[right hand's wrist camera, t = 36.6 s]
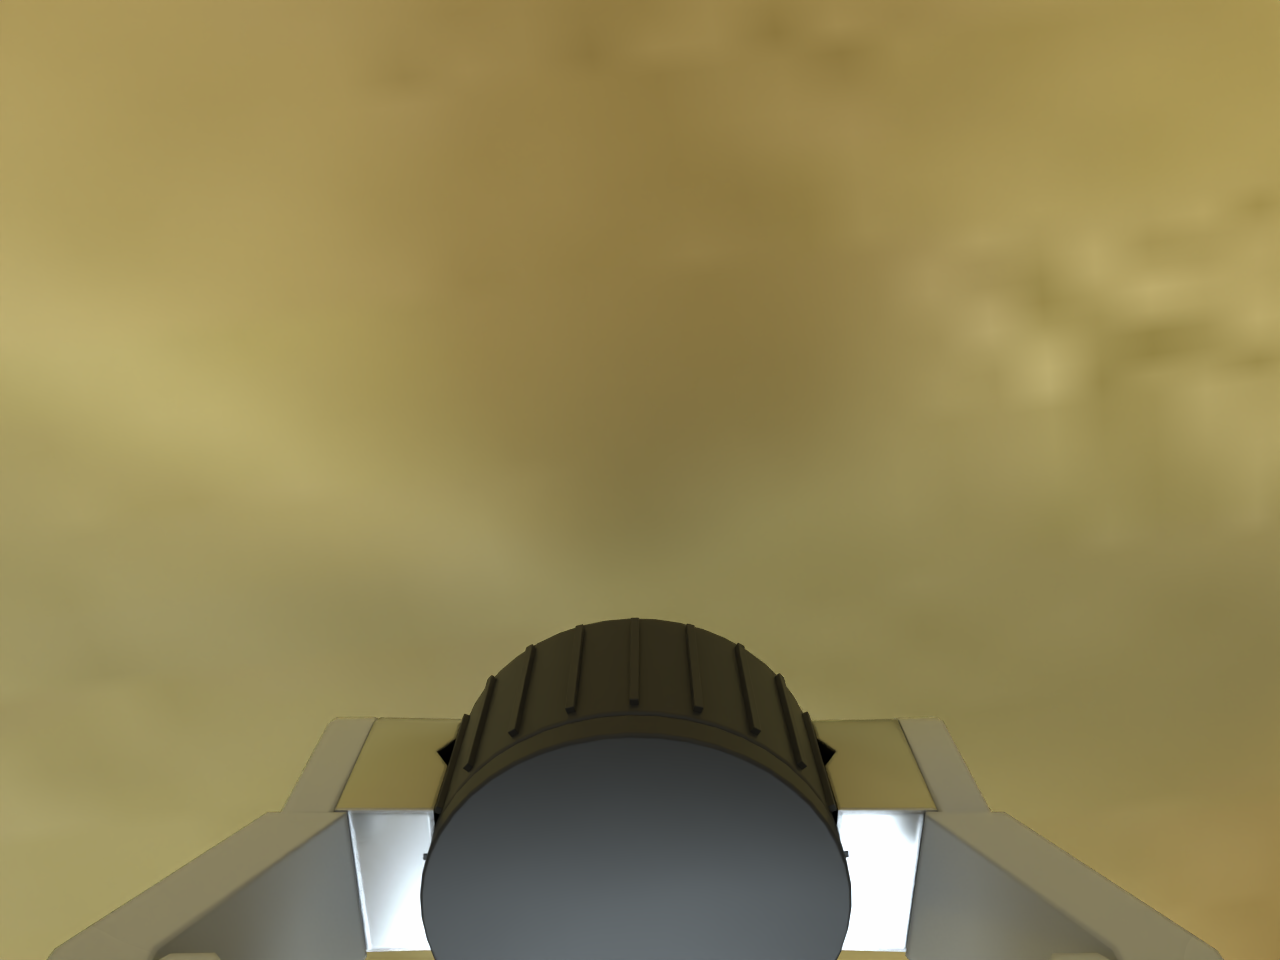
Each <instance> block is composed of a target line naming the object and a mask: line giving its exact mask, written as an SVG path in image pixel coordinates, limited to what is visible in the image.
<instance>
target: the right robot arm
mask: <svg viewBox="0 0 1280 960" xmlns="http://www.w3.org/2000/svg"><path fill="white" fill-rule="evenodd" d="M461 721H462V719H431V718H384V717H381V718H379V719H378V718H376V717H337V718H335V719H334V720H332V721H330V722H329V723H328V724H327V726H326V728H325V730H324V732H323V734H322V736H321V738H320V739H319V741H318V743H317V745H316V747H315V749H314V751H313V752H312V754H311V756H310V758H309V760H308V762H307V764H306V766H305V767H304V769H303V771H302V773H301V775H300V777H299V779H298V780H297V782H296V784H295V786H294V788H293V790H292V792H291V794H290V795H289V797H288V799H287V801H286V803H285V805H284V807H283V809H282V810H281V812H267V813H265V814H264V815H262V816H261V817H259V818H257V819H256V820H254V821H253V822H251V823H250V824H248V825H247V826H245V827H243V828H242V829H240V830H239V831H237V832H236V833H234V834H233V835H231V836H229V837H228V838H226V839H225V840H223V841H222V842H220V843H219V844H217V845H215V846H214V847H212V848H211V849H209V850H208V851H206V852H205V853H203V854H201V855H200V856H198V857H197V858H195V859H194V860H192V861H191V862H189V863H187V864H186V865H184V866H183V867H181V868H180V869H178V870H177V871H175V872H173V873H172V874H170V875H169V876H167V877H166V878H164V879H163V880H161V881H159V882H158V883H156V884H155V885H153V886H152V887H150V888H148V889H147V890H145V891H144V892H142V893H141V894H139V895H138V896H136V897H134V898H133V899H131V900H130V901H128V902H127V903H125V904H124V905H122V906H120V907H119V908H117V909H116V910H114V911H113V912H111V913H110V914H108V915H106V916H105V917H103V918H102V919H100V920H99V921H97V922H96V923H94V924H92V925H91V926H89V927H88V928H86V929H85V930H83V931H82V932H80V933H78V934H77V935H75V936H74V937H72V938H71V939H69V940H68V941H66V942H64V943H63V944H61V945H60V946H58V947H57V948H55V949H54V950H53V952H52V953H51V954H50V956H49V957H48V959H47V960H364V959H365V958H366V957H367V953H366V952H373V951H407V950H431V949H430V947H429V944H428V942H427V939H426V935H425V930H424V926H423V922H422V918H421V906H420V888H421V878H422V871H423V868H424V864H425V861H426V860H423V854H424V853H427V854H428V850H429V847H430V843H431V840H432V837H433V833H434V830H435V827H436V823H437V820H438V816H439V814H437V813H434V810H435V807H436V803H437V800H438V797H439V794H440V790H441V787H442V784H443V780H444V777H445V774H446V771H447V767H448V764H449V761H450V757H451V754H452V751H453V748H454V744H455V741H456V738H457V734H458V731H459V728H460V725H461ZM811 722H812V725H813V729H814V732H815V736H816V739H817V742H818V746H819V749H820V753H821V756H822V760H823V763H824V766H825V770H826V773H827V777H828V780H829V784H830V787H831V790H832V794H833V797H834V801H835V804H836V808H837V810H836V811H833V815H834V819H835V822H836V826H837V829H838V832H839V835H840V839H841V843H842V846H843V849H844V851H849V857H848V858H846V860H847V864H848V869H849V874H850V879H851V884H852V909H851V916H850V922H849V929H848V932H847V935H846V938H845V941H844V944H843V947H842V950H864V951H899V952H906V955H905V956H906V957H907V958H908V959H909V960H1224V959H1223V958H1222V956H1221V955H1220V954H1219V952H1218V951H1217V950H1216V949H1214V948H1213V947H1211V946H1210V945H1208V944H1207V943H1205V942H1204V941H1202V940H1200V939H1199V938H1197V937H1196V936H1194V935H1193V934H1191V933H1190V932H1188V931H1187V930H1185V929H1184V928H1182V927H1180V926H1179V925H1177V924H1176V923H1174V922H1173V921H1171V920H1170V919H1168V918H1167V917H1165V916H1164V915H1162V914H1160V913H1159V912H1157V911H1156V910H1154V909H1153V908H1151V907H1150V906H1148V905H1147V904H1145V903H1144V902H1142V901H1141V900H1139V899H1137V898H1136V897H1134V896H1133V895H1131V894H1130V893H1128V892H1127V891H1125V890H1124V889H1122V888H1121V887H1119V886H1117V885H1116V884H1114V883H1113V882H1111V881H1110V880H1108V879H1107V878H1105V877H1104V876H1102V875H1101V874H1099V873H1097V872H1096V871H1094V870H1093V869H1091V868H1090V867H1088V866H1087V865H1085V864H1084V863H1082V862H1081V861H1079V860H1077V859H1076V858H1074V857H1073V856H1071V855H1070V854H1068V853H1067V852H1065V851H1064V850H1062V849H1061V848H1059V847H1057V846H1056V845H1054V844H1053V843H1051V842H1050V841H1048V840H1047V839H1045V838H1044V837H1042V836H1041V835H1039V834H1037V833H1036V832H1034V831H1033V830H1031V829H1030V828H1028V827H1027V826H1025V825H1024V824H1022V823H1021V822H1019V821H1017V820H1016V819H1014V818H1013V817H1011V816H1010V815H1008V814H1007V813H1005V812H991V810H990V808H989V807H988V805H987V803H986V801H985V799H984V797H983V795H982V793H981V791H980V790H979V788H978V786H977V784H976V782H975V780H974V778H973V776H972V774H971V773H970V771H969V769H968V767H967V765H966V763H965V761H964V759H963V757H962V756H961V754H960V752H959V750H958V748H957V746H956V744H955V742H954V741H953V739H952V737H951V735H950V733H949V731H948V729H947V727H946V725H945V724H944V722H943V721H942V720H941V719H939V718H938V717H912V718H894V719H871V720H811Z"/></svg>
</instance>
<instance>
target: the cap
mask: <svg viewBox="0 0 1280 960" xmlns="http://www.w3.org/2000/svg"><path fill="white" fill-rule="evenodd" d="M836 810H837V808H836V804H835V801H834V797H833V794H832V790H831V787H830V784H829V780H828V777H827V773H826V770H825V766H824V763H823V760H822V756H821V753H820V749H819V746H818V742H817V739H816V736H815V732H814V729H813V725H812V722H811V718H810V716H809V714H808V712H805V713H803V712H802V710H801V709H800V707H799V705H798V703H797V701H796V700H795V698H794V696H793V695H792V693H791V692H790V691H789V690H788V688H787V687H786V684H785V680H784V677H783V676H782V675H781V674H780V673H779V674H778V675H776V674H775V673H774V672H773V671H772V670H771V669H770V668H769V667H768V666H767V665H766V664H764V663H763V662H762V661H760V660H759V659H758V658H756V657H755V656H754V655H752V654H751V653H750V652H748V651H747V650H745V647H744V646H743V645H741V644H739V643H738V644H737V645H736V644H735V643H733V642H731V641H729V640H727V639H726V638H723V637H721V636H718V635H716V634H713V633H711V632H709V631H706V630H704V629H700V628H696V627H694V625H691V624H687V625H685V624H682V623H677V622H670V621H663V620H656V619H639V618H631V619H620V620H609V621H602V622H597V623H592V624H588V625H583V624H582V625H578V626H576V628H573V629H570V630H567V631H564V632H561V633H559V634H557V635H554V636H552V637H550V638H548V639H546V640H544V641H542V642H540V643H538V644H536V645H535V646H534V645H533V644H532V645H530V646H528V647H527V648H526V651H525V652H524V653H522V654H521V655H519V656H517V657H516V658H515V659H514V660H513V661H512V662H510V663H509V664H508V665H507V666H506V667H504V668H503V669H502V670H501V671H500V672H499V673H498V674H497V675H496V676H495V677H494V676H493V675H491V676H490V678H489V679H488V680H487V683H486V687H485V689H484V691H483V692H482V694H481V695H480V697H479V698H478V700H477V702H476V703H475V705H474V707H473V709H472V711H471V713H470V715H467V714H464V716H463V718H462V721H461V725H460V728H459V731H458V734H457V738H456V741H455V744H454V748H453V751H452V754H451V757H450V761H449V764H448V767H447V771H446V774H445V777H444V780H443V784H442V787H441V790H440V794H439V797H438V800H437V803H436V807H435V810H434V813H437V814H439V816H438V820H437V823H436V827H435V830H434V833H433V837H432V840H431V843H430V847H429V850H428V854H427V853H424V854H423V860H426V861H425V864H424V868H423V871H422V878H421V888H420V906H421V918H422V922H423V926H424V930H425V935H426V939H427V942H428V944H429V947H430V949H431V951H432V954H433V956H434V958H435V960H837V958H838V956H839V954H840V952H841V950H842V947H843V944H844V941H845V938H846V935H847V932H848V929H849V922H850V916H851V909H852V884H851V879H850V874H849V869H848V864H847V860H846V858H848V857H849V851H844V849H843V846H842V843H841V839H840V835H839V832H838V829H837V826H836V822H835V819H834V815H833V811H836Z"/></svg>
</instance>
